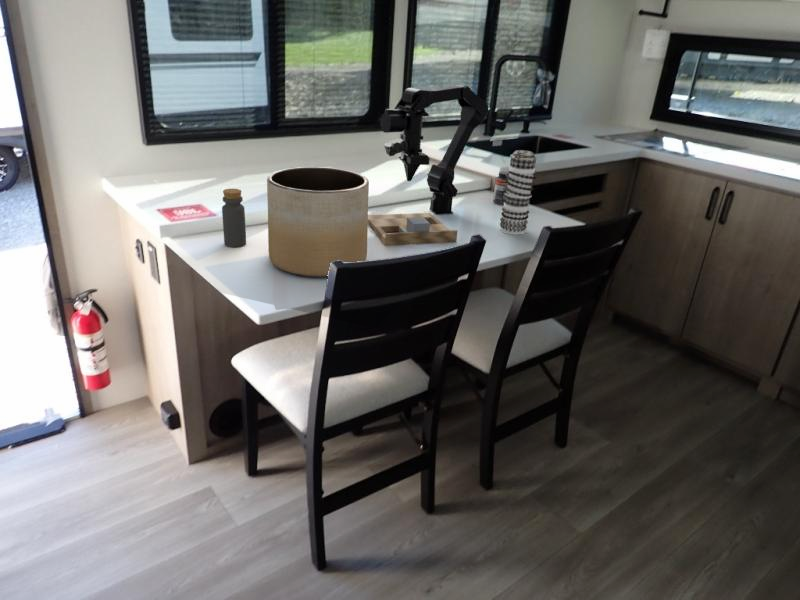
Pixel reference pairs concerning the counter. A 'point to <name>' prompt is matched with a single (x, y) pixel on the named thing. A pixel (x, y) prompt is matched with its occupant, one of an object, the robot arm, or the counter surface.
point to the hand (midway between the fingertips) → (408, 180)
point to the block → (417, 224)
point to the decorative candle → (518, 192)
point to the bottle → (233, 218)
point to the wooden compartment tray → (395, 233)
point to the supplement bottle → (500, 188)
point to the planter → (316, 219)
